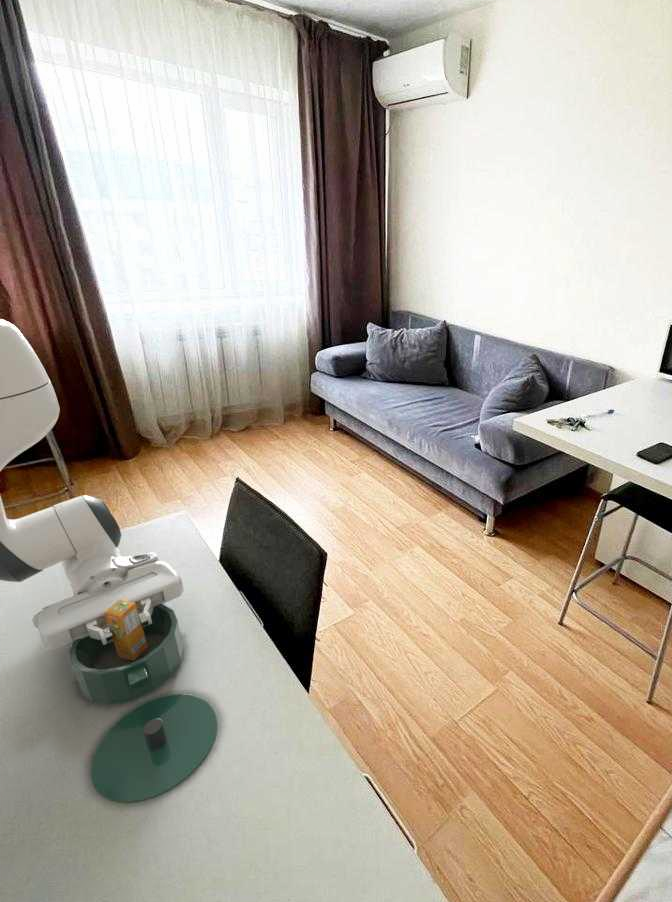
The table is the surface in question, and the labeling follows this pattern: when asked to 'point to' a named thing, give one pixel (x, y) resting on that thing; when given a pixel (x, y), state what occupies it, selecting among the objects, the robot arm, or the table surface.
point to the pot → (133, 676)
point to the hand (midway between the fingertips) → (128, 630)
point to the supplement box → (126, 629)
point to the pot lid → (154, 748)
